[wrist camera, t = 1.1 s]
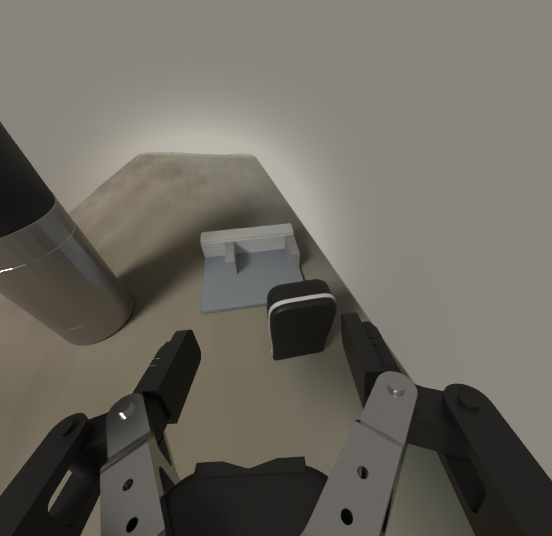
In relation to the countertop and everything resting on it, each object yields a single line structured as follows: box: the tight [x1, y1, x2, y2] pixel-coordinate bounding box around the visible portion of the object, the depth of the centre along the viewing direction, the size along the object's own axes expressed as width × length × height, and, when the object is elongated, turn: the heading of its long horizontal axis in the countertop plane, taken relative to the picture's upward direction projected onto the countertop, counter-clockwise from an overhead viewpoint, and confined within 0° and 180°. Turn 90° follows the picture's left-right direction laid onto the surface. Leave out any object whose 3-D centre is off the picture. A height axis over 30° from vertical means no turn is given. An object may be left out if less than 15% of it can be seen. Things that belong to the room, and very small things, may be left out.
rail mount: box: [200, 223, 303, 314], centre depth 38 cm, size 16×14×4 cm
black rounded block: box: [267, 279, 337, 360], centre depth 27 cm, size 7×4×11 cm, turn 101°
